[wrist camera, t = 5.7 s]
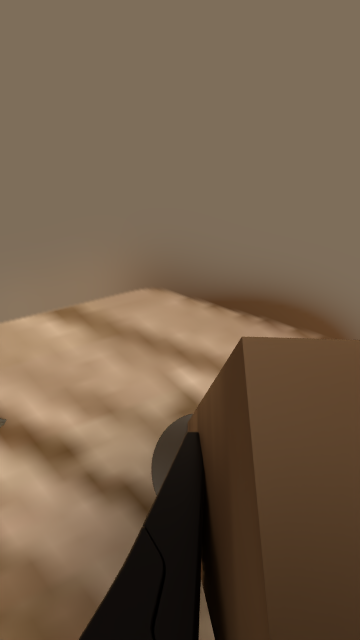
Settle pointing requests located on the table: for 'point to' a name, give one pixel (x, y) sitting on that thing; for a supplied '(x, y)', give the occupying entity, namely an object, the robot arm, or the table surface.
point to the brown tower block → (279, 489)
